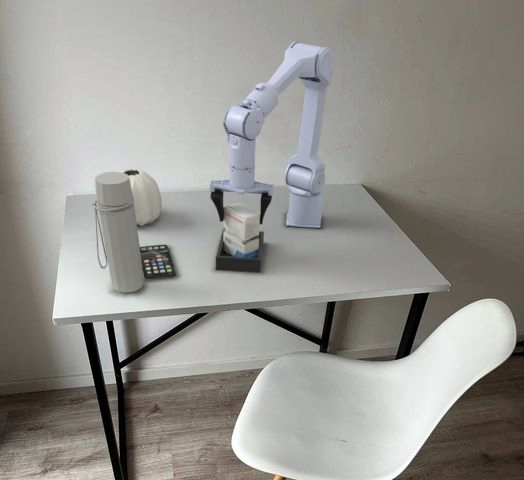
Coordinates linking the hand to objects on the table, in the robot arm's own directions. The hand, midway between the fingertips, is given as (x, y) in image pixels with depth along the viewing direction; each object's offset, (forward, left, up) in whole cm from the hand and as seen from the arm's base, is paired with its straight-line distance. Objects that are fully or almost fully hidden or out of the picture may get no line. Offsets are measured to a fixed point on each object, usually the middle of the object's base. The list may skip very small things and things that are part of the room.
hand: (241, 221), depth 124 cm
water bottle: (+25, +18, -10) cm, 32 cm away
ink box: (0, +1, -9) cm, 9 cm away
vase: (+30, -16, -10) cm, 35 cm away
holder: (0, +1, -9) cm, 9 cm away
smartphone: (+20, +7, -9) cm, 23 cm away
